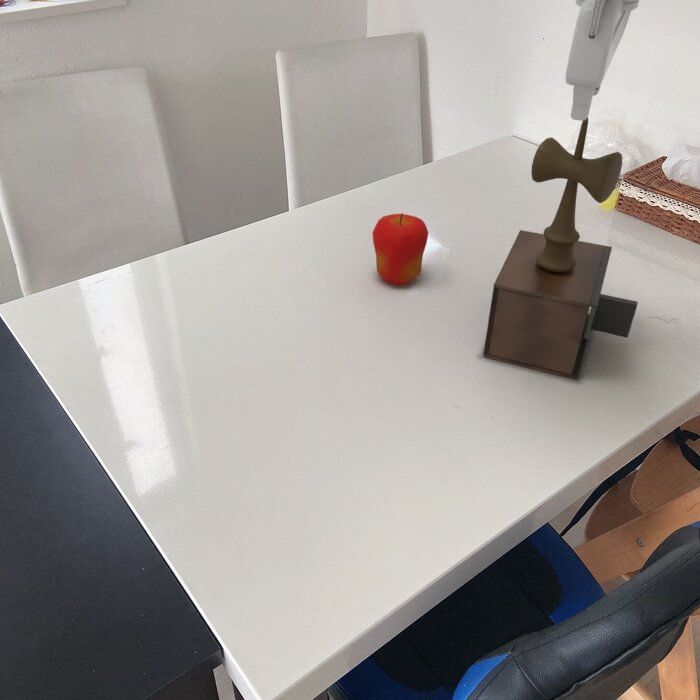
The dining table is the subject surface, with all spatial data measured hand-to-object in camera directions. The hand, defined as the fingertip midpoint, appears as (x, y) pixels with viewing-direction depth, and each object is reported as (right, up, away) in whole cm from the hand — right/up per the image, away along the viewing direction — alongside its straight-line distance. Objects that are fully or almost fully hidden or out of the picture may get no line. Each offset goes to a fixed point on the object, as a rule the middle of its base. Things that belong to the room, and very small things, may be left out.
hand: (585, 105), depth 78 cm
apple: (-19, -17, +33) cm, 42 cm away
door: (+10, -25, +21) cm, 34 cm away
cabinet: (0, -26, +20) cm, 33 cm away
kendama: (0, -17, +13) cm, 21 cm away
